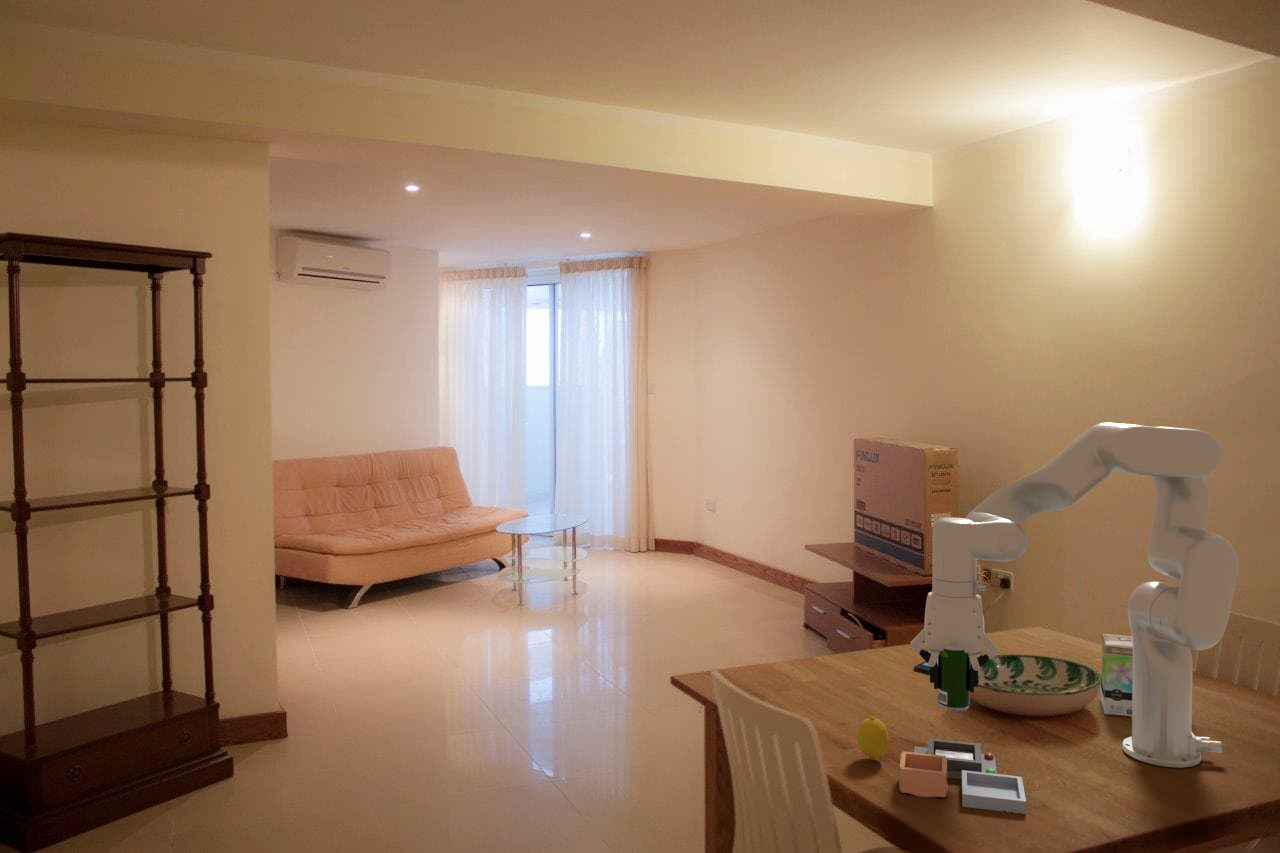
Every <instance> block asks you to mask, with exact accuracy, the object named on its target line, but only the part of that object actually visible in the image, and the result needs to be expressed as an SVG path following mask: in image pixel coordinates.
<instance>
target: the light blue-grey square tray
mask: <svg viewBox="0 0 1280 853" xmlns="http://www.w3.org/2000/svg"><path fill="white" fill-rule="evenodd" d="M1026 798H1027V797H1026V793H1025V788H1024V781H1023V777H1022V776H1017V775H1008V774H1000V773H997V774H992V773H983V772H974V771H965V770H962V779H961V799H962V801H961V805H962V806H961V807H964V808H970V809H971V808H972V809H977V810H978V809H980V810H988V811H994V810H995V812H1003V811H1006V812H1005V813H1011V812H1013V813H1012V814H1019V813H1020V814H1021V815H1027V799H1026Z"/></svg>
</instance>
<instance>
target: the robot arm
mask: <svg viewBox="0 0 1280 853" xmlns="http://www.w3.org/2000/svg"><path fill="white" fill-rule="evenodd" d="M1222 460H1223V448H1222V445H1221V444H1220V442H1219V440H1218V439H1217V438H1216V437H1215V436H1214V435H1213V434H1211V433H1210V432H1208V431H1205V430H1201V429H1193V428H1183V427H1182V428H1181V427H1180V428H1179V427H1173V426H1172V427H1171V426H1149V425H1141V424H1134V423H1133V424H1132V423H1119V422H1100V423H1096V424H1095V425H1093V426H1091V427H1089V428H1088V429H1087V430H1085V431H1084V432H1082V433H1081V434H1080V435H1079V436H1078V437H1077V438H1076V439H1073V441H1072V442H1071V443H1069V444H1068V445H1067V446H1066V447H1064V448H1063V449H1062V450H1061V451H1060V452H1059V453H1057V454H1056V455H1055V456H1054V457H1053V458H1051V459H1050V460H1049V461H1048V462H1047V463H1045V464H1043V466H1041V467H1040V468H1039V469H1037V470H1036V471H1033V472H1031V473H1028V474H1027V475H1024V476H1022V477H1021V478H1019V479H1017V480H1015V481H1012V482H1011V483H1008V484H1006V485H1005V486H1003V487H1001V488H999V489H998V490H996V491H995V492H993V493H992V494H990V495H989V496H988V497H986V498H985V499H984V500H983V501H981V502H980V503H979V504H978V505H977V506H976V507H974V508H973V509H971V511H970V512H969V513H968V514H967V515H966V516H965V517H964V518H963V517H941V518H938V519H936V520H935V521H934V522H933V525H932V549H931V550H932V554H931V555H932V562H931V563H932V565H931V568H932V571H931V572H932V573H931V574H932V575H931V576H932V578H931V579H932V582H931V583H932V585H931V586H932V587H931V588H932V589H931V591H930V592H928V593H927V596H926V602H925V610H924V622H923V623H924V625H923V628H922V629H921V631H920V632H918V634H916V636H915V637H914V638H913V639H912V640H911V641H910V643H909V644H910V647H911V649H913V651H915V652H916V653H917V654H918V655H919V656H920V657H921V658H922V659H923V660H924V662H925V661H926V662H927V663H928V665H929V666H930V674H929V683H931V684H933V689H934V690H938V664H937V658H938V656H939V653H940V652H941V651H943V649H944V648H945V647H946V646H948V645H947V644H948V643H950V644H960V645H961V646H960V647H962V648H963V649H964V651H965V653H967V654H968V655H969V658H970V685H969V691H970V693H972V694H973V693H975V687H977V688H978V687H979V671H980V669H981V668H982V667H983V666H984V665H985V664H987V663H988V662H989V661H990V660H991V659H993V658H994V657H996V656H997V655H999V653H1000V651H999V650H1000V649H999V647H998V646H997V645H996V644H995V643H994V642H993V640H992V639H991V638H990V636H988V635H987V633H986V631H985V619H984V618H985V617H984V606H983V600H982V596H981V595H980V594H978V593H979V592H981V591H982V592H986V583H985V582H980V581H979V580H978V560H982V561H991V562H992V561H993V562H998V563H999V562H1001V563H1003V562H1011V561H1014V560H1017V559H1019V558H1020V557H1022V556H1023V554H1024V553H1025V552H1026V550H1027V548H1028V545H1029V544H1028V543H1029V538H1028V535H1027V533H1026V531H1025V529H1024V528H1023V527H1022V526H1021V525H1020V524H1019V523H1021V522H1023V521H1024V520H1027V519H1030V518H1031V517H1033V516H1037V515H1039V514H1040V515H1041V514H1044V513H1050V512H1051V513H1052V512H1056V511H1060V510H1064V509H1068V508H1070V507H1073V506H1074V505H1077V504H1078V503H1079V502H1081V501H1082V500H1083V499H1084V498H1085V497H1086V496H1087V495H1089V493H1091V492H1092V491H1093V490H1095V489H1096V488H1097V487H1098V486H1100V484H1102V483H1103V482H1104V481H1105V480H1107V479H1108V478H1110V476H1111V475H1113V474H1114V473H1116V472H1117V473H1124V474H1131V475H1133V474H1134V475H1140V476H1148V477H1150V478H1151V480H1152V482H1153V485H1154V488H1155V493H1156V494H1155V495H1156V496H1155V497H1156V498H1155V505H1154V506H1155V508H1154V513H1153V518H1152V523H1151V529H1150V534H1149V538H1148V543H1147V550H1146V559H1147V562H1148V564H1149V565H1150V567H1151V568H1152V569H1153V570H1155V571H1156V572H1158V573H1160V574H1162V575H1164V576H1166V577H1170V578H1172V579H1176V580H1178V581H1179V586H1176V585H1174V584H1171V583H1167V582H1163V581H1147V582H1143V583H1142V584H1140V585H1138V586H1137V587H1135V588H1134V589H1133V591H1132V592H1131V594H1130V595H1129V598H1128V601H1127V618H1128V624H1129V627H1130V636H1132V645H1133V676H1132V717H1131V736H1129V737H1126V738H1124V739H1123V740H1122V744H1121V747H1122V750H1123V751H1124V753H1125V754H1127V755H1128V756H1129V757H1131V758H1133V759H1135V760H1138V761H1139V762H1142V763H1146V764H1150V765H1154V766H1157V767H1166V768H1176V769H1178V768H1181V769H1183V768H1191V767H1194V766H1197V765H1198V764H1200V763H1201V761H1202V754H1201V753H1202V752H1203V751H1207V752H1210V753H1219V754H1220V753H1223V743H1222V741H1217V740H1211V737H1208V736H1196V735H1195V734H1194V732H1193V731H1192V726H1193V725H1192V723H1193V722H1192V716H1193V710H1192V709H1193V706H1192V705H1193V656H1192V651H1191V650H1194V651H1203V650H1208V649H1210V648H1213V647H1214V646H1216V645H1217V643H1219V642H1220V641H1221V639H1222V637H1223V636H1224V634H1225V632H1226V630H1227V626H1228V623H1229V618H1230V615H1231V614H1230V612H1231V609H1232V605H1233V599H1234V595H1235V590H1236V585H1237V579H1238V573H1239V560H1238V555H1237V553H1236V552H1237V551H1236V550H1235V548H1234V547H1233V544H1231V542H1230V541H1229V540H1228V539H1226V538H1224V537H1223V536H1221V535H1220V534H1217V533H1214V532H1211V531H1208V525H1209V524H1208V523H1209V517H1210V508H1211V492H1210V489H1209V485H1208V482H1207V480H1206V478H1207V477H1209V476H1210V475H1212V474H1213V473H1214V472H1215V471H1217V469H1219V467H1220V465H1221V463H1222ZM922 642H924V646H925V648H924V646H922V645H921V643H922ZM985 647H986V648H987V650H986V651H985V652H984V649H985ZM929 650H930V652H929ZM978 655H979V656H978Z"/></svg>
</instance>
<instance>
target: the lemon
mask: <svg viewBox="0 0 1280 853" xmlns="http://www.w3.org/2000/svg"><path fill="white" fill-rule="evenodd" d="M856 738H857V745H858V747H859V750H860V752H862V753H863V755H865V756H867V757H868V758H870V760H872V761H874V760H875V759H877V758H880V757H881V756H883V755H884V754H885V753H886V751H887V750H888V747H889V733H888V730H887V727H886V725H885V724H884V723H883V721H881V720H880V719H878V718H876V717H875V716H870V717H868V718H866V719H863V721H861V723H860V724H859V726H858V729H857V736H856Z"/></svg>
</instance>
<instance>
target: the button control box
mask: <svg viewBox="0 0 1280 853" xmlns="http://www.w3.org/2000/svg"><path fill="white" fill-rule="evenodd" d="M936 748H941V749H951V750H960V751H970V752H973V760H968V759H958V758H949V757H946V758H947V779H957V780H962V770H965V771H974V772H983V773H992V774H998V772H997V764H996V756H995V754H994V753H993V752H984V753H982V749H981V748H982V747H981V743H980V742H979V743H978V742H977V743H975V742H969V741H959V740H958V741H956V740H950V739H949V740H948V739H947V740H946V739H940V738H939V739H937V738H928V739H927V747H925V746H914V749H913V752H914V753H923V754H933V755H935V752H936Z"/></svg>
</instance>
